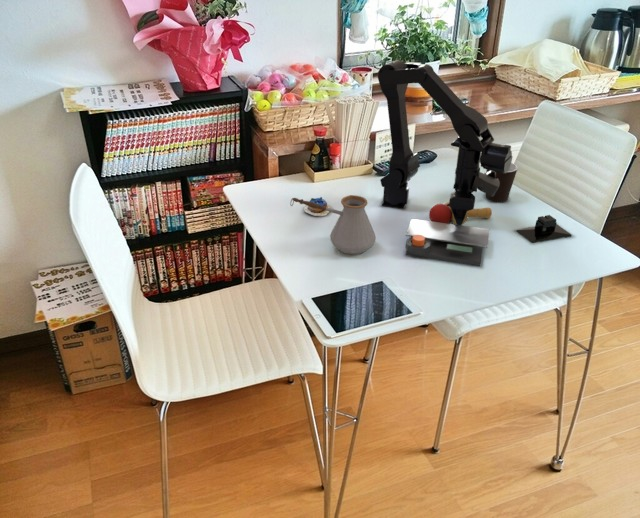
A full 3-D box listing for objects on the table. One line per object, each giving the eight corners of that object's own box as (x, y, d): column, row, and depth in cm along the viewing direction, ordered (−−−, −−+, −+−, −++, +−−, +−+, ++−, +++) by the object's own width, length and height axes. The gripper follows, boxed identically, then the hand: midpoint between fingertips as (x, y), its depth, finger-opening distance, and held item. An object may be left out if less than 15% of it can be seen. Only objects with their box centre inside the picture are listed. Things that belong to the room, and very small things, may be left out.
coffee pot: (368, 233, 156) (371, 181, 148) (380, 256, 146) (384, 201, 138) (288, 241, 152) (286, 187, 144) (295, 264, 143) (293, 209, 135)
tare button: (411, 245, 145) (411, 239, 145) (413, 240, 148) (413, 233, 147) (423, 247, 145) (424, 241, 144) (425, 241, 147) (425, 235, 146)
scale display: (446, 249, 144) (446, 248, 143) (447, 244, 145) (447, 243, 145) (471, 252, 142) (471, 252, 142) (472, 248, 144) (472, 247, 144)
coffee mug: (512, 205, 171) (518, 173, 165) (481, 202, 172) (487, 170, 167) (509, 188, 180) (515, 157, 175) (480, 186, 182) (485, 155, 176)
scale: (403, 257, 146) (404, 246, 144) (412, 229, 158) (413, 219, 157) (479, 269, 142) (481, 258, 140) (483, 239, 154) (485, 229, 152)
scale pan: (405, 235, 149) (405, 234, 149) (411, 219, 156) (411, 218, 156) (487, 247, 144) (487, 246, 144) (489, 230, 152) (489, 229, 151)
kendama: (477, 214, 168) (421, 215, 162) (485, 195, 165) (428, 196, 158) (490, 231, 163) (433, 232, 157) (499, 212, 159) (440, 213, 153)
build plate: (554, 224, 161) (558, 209, 159) (572, 236, 155) (576, 221, 153) (515, 231, 158) (519, 215, 155) (532, 244, 152) (536, 228, 149)
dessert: (326, 216, 162) (314, 198, 161) (307, 225, 166) (296, 207, 165) (336, 206, 169) (325, 188, 168) (318, 215, 172) (307, 198, 171)
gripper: (498, 181, 143) (489, 238, 151) (501, 155, 159) (492, 207, 167) (452, 176, 146) (445, 232, 154) (459, 150, 161) (452, 202, 169)
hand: (460, 218), depth 161 cm, fingers closed on kendama, 9 cm apart
